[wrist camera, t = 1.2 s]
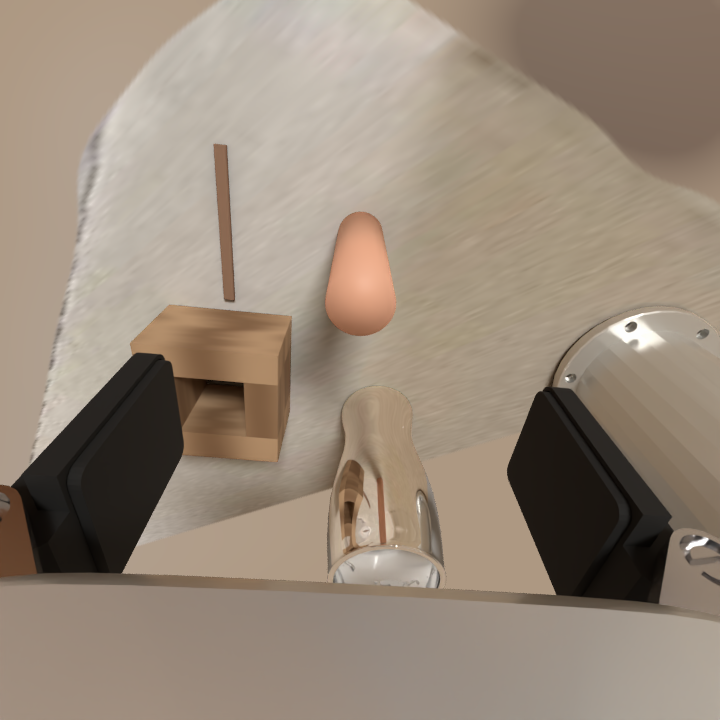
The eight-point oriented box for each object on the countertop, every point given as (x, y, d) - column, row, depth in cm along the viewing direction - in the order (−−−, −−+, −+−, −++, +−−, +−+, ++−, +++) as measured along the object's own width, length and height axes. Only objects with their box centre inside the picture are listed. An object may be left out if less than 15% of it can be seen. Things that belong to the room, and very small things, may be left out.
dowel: (385, 214, 27) (401, 273, 17) (379, 259, 29) (390, 338, 18) (340, 209, 27) (327, 265, 17) (336, 254, 28) (323, 332, 18)
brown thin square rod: (226, 145, 25) (225, 145, 25) (235, 298, 30) (233, 300, 30) (215, 143, 25) (213, 144, 25) (225, 297, 30) (224, 299, 30)
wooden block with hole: (291, 316, 31) (277, 356, 26) (289, 411, 35) (277, 462, 30) (169, 304, 30) (129, 343, 25) (183, 402, 35) (152, 452, 30)
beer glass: (383, 456, 38) (396, 630, 25) (320, 421, 36) (298, 591, 23) (434, 407, 35) (477, 575, 22) (368, 365, 33) (374, 525, 20)
